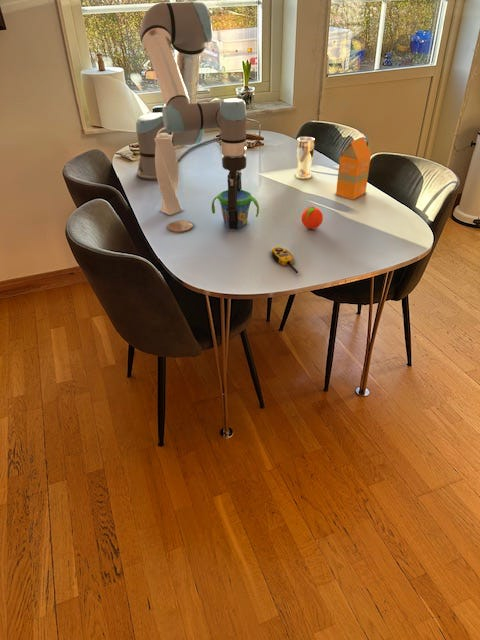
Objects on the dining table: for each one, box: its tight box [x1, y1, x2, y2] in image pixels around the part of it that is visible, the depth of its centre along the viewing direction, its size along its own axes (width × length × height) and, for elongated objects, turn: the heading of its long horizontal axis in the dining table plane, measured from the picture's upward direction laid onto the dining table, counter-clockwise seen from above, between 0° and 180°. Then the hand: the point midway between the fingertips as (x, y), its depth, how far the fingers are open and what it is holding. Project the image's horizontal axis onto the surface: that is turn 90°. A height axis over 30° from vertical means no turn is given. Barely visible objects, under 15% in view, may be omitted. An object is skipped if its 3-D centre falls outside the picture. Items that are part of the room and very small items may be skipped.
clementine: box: [300, 206, 324, 230], centre depth 153 cm, size 8×7×7 cm
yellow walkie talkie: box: [271, 246, 299, 274], centre depth 136 cm, size 5×2×15 cm
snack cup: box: [211, 189, 260, 229], centre depth 156 cm, size 16×10×10 cm
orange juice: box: [335, 136, 372, 200], centre depth 173 cm, size 8×9×20 cm
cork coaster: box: [167, 220, 193, 233], centre depth 157 cm, size 8×8×1 cm
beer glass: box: [295, 136, 315, 180], centre depth 191 cm, size 7×7×15 cm
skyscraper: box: [154, 127, 183, 216], centre depth 160 cm, size 8×8×28 cm
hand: (235, 222), depth 158 cm, fingers closed on snack cup, 9 cm apart
